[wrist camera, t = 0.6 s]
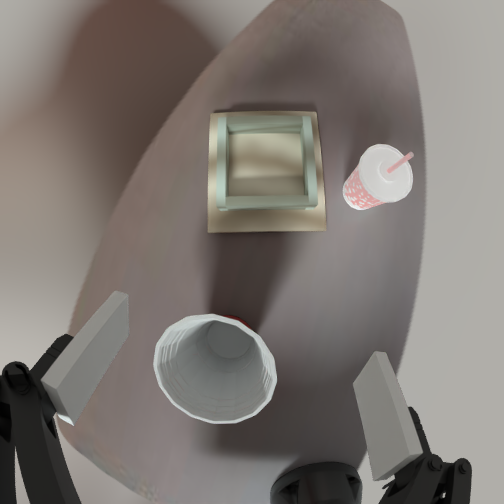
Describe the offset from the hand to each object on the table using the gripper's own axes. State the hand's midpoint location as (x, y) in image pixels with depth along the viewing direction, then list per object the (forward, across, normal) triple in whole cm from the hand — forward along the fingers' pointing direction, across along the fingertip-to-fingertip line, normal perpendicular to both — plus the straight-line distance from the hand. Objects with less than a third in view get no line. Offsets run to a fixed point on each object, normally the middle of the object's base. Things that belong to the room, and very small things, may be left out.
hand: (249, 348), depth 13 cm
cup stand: (+25, +1, -6) cm, 25 cm away
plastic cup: (+16, +1, +14) cm, 21 cm away
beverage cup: (+24, -11, -6) cm, 27 cm away
